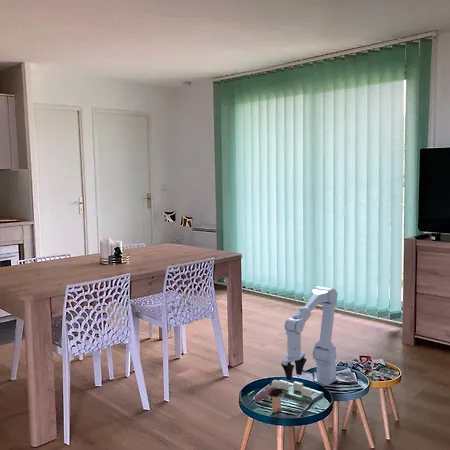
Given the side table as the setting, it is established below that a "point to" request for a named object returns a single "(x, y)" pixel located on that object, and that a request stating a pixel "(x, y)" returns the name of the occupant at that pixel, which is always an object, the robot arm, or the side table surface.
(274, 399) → the grandmother figurine
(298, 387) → the block
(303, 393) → the block
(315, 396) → the breaker panel
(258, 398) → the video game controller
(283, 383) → the block
